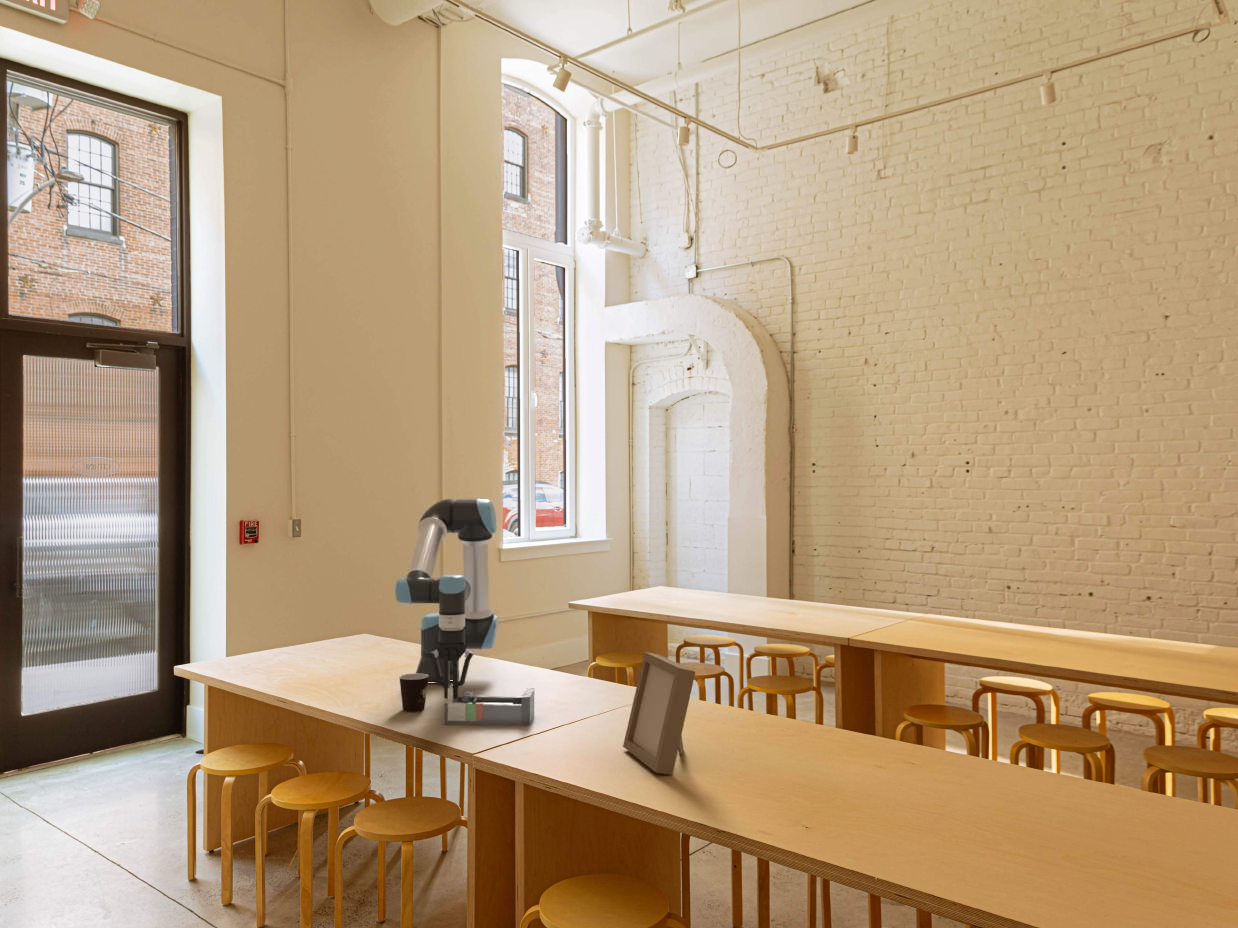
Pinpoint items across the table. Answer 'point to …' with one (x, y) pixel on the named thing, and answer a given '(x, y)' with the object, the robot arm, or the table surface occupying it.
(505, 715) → the gauge housing
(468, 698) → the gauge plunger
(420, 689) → the coffee mug
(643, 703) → the photo frame
